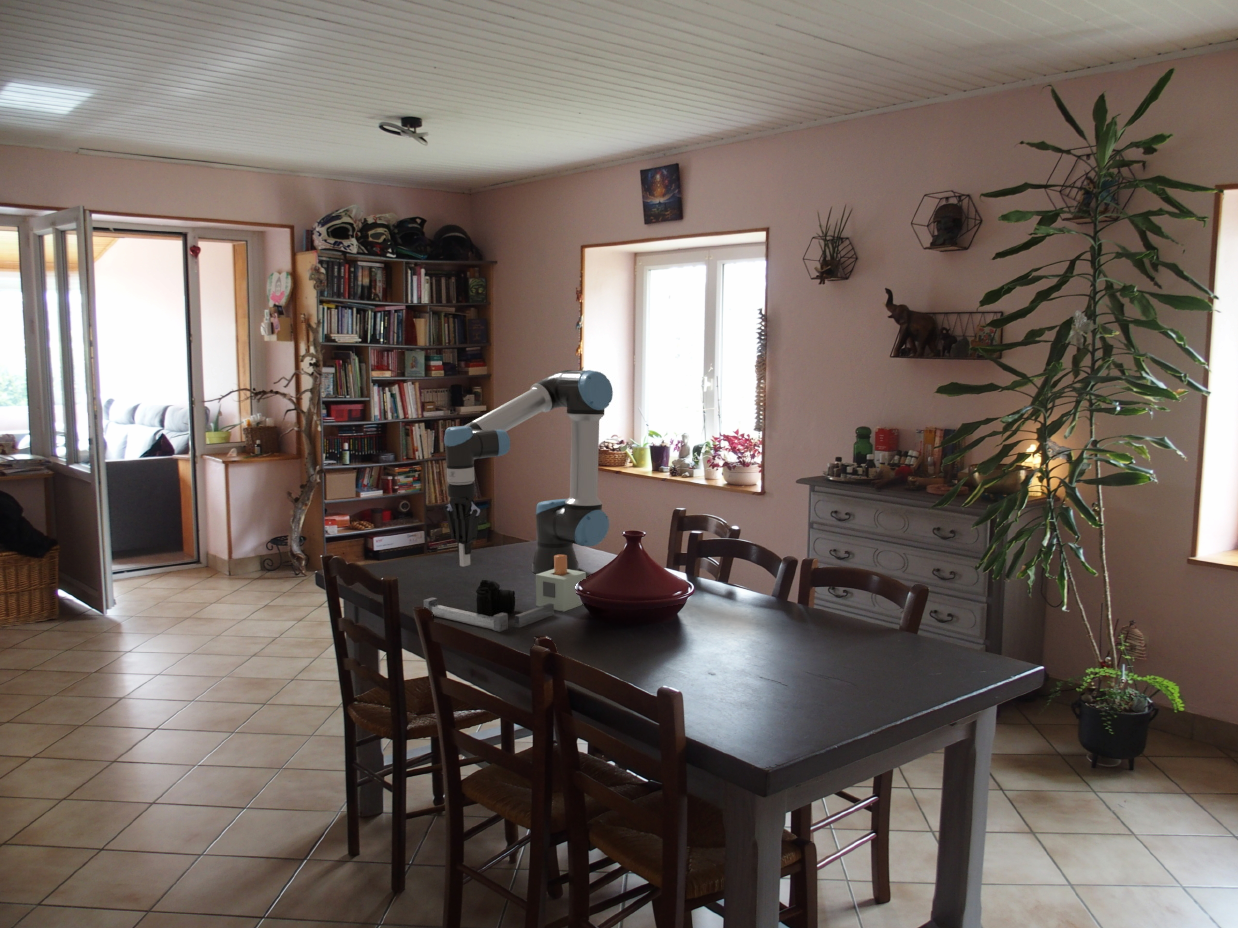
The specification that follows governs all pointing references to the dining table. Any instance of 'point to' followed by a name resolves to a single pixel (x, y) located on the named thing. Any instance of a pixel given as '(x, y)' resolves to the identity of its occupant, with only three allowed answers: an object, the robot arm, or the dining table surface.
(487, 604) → the film camera
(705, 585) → the dining table surface
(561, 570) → the gauge button
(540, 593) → the cabinet
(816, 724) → the dining table surface
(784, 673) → the dining table surface
